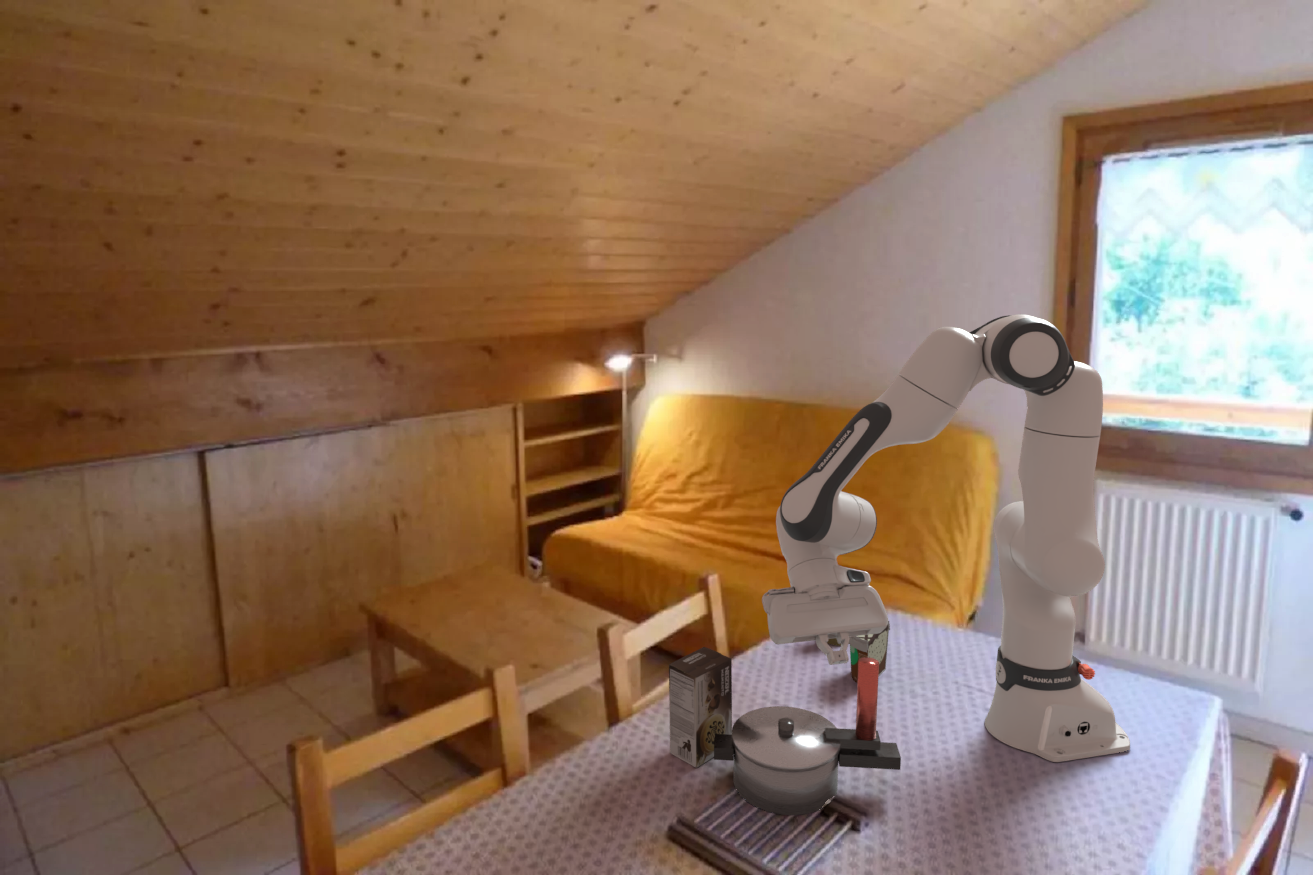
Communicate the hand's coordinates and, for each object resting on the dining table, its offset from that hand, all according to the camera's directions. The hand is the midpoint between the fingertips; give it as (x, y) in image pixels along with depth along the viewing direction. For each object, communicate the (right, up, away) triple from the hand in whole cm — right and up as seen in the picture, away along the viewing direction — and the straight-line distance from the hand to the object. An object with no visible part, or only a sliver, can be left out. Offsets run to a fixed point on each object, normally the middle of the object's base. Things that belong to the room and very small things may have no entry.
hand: (839, 663), depth 134 cm
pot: (-7, -17, -6) cm, 19 cm away
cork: (+9, -7, +44) cm, 46 cm away
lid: (-7, -10, -8) cm, 14 cm away
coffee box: (-22, -16, +3) cm, 28 cm away
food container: (+11, -10, +29) cm, 32 cm away
